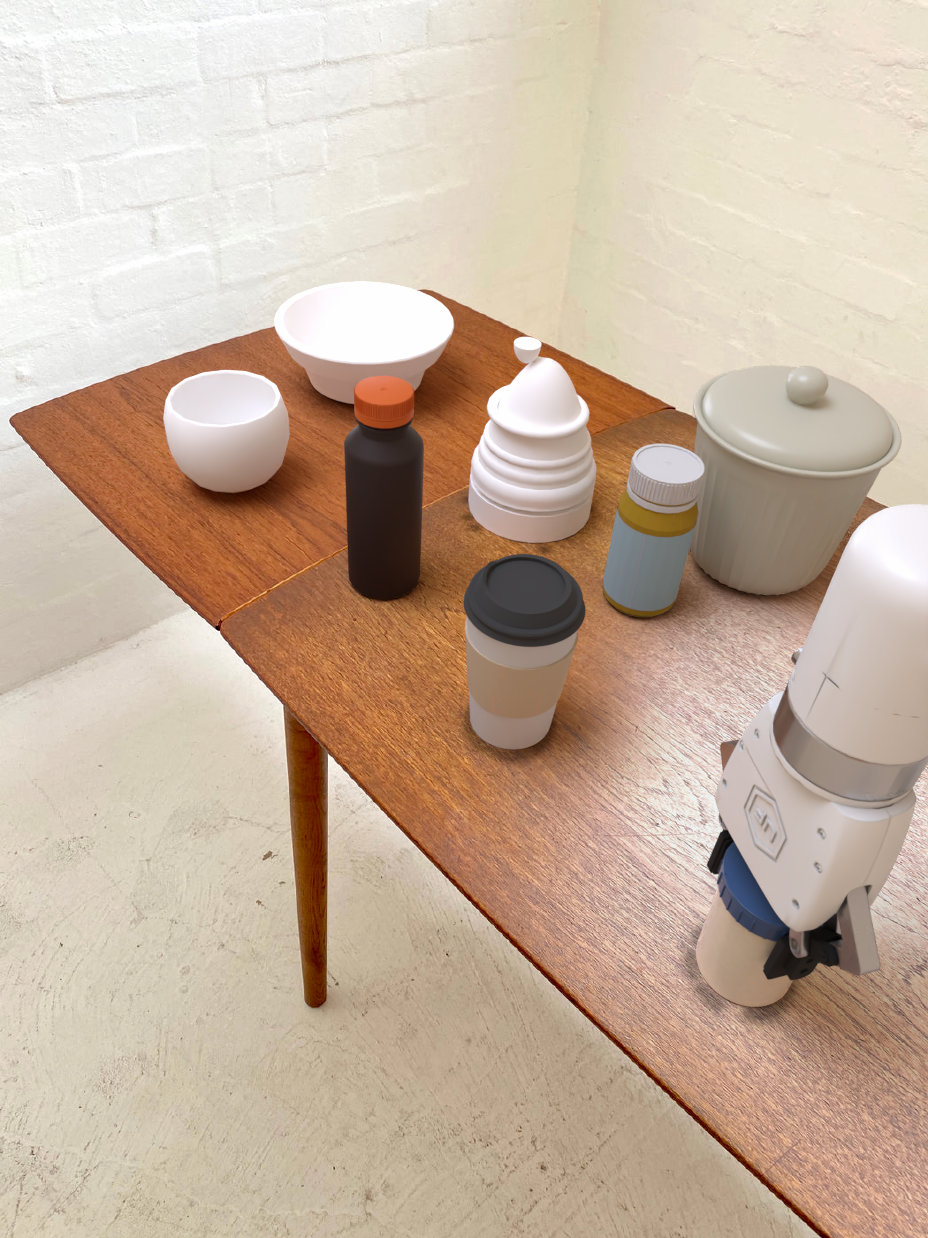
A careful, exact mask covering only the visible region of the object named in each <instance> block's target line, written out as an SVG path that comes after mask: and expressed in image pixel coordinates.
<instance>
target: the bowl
mask: <svg viewBox="0 0 928 1238" xmlns="http://www.w3.org/2000/svg"><path fill="white" fill-rule="evenodd" d="M273 325H274V329H275V332H276V334H277V336H278V337H279V339H280V340H281V343H282V344H283V346H284V347H285V349H286V351H287V352H288V355H289V356H290V357H291V359H292V360H293V361H294V362H295V363H296V364H297V365H299V366H300V367H301V368H304V369H305V372H306V374H307V377H308V379H309V382H310V384H311V386H313V388H314V389H315V390H316V391H317V392H319V393H320V394H321V395H323V396H325V397H327V398H329V399H332V400H334V401H337V402H341V403H345V404H351V405H354V387H355V386H356V385H357V384H358V382H360V381H361V380H364V379H366V378H369V377H374V376H392V377H397V378H400V379H403V380H405V381H406V382H408V383H409V384H410V385H411V386H412V387H413V389H414V392H415V391H416V390H417V389H418V388H419V386H420V385H421V383H422V379H423V377H424V375H425V373H426V370H428V368H430V367H432V366H433V365H434V364H435V363H436V362H437V361H438V360H439V358H440V357H441V355H442V354H443V352H444V350H445V348H446V346H447V345H448V342H449V341H450V339H451V338H452V335H453V333H454V329H455V321H454V317H453V315H452V313H451V311H450V310H449V308H448V307H447V306H445V304H443V303H442V302H441V301H439V300H438V299H437V298H434V297H433V296H431V295H429V294H427V293H424V292H422V291H421V290H418V289H414V288H410V287H408V286H402V285H399V284H392V283H387V282H378V281H346V282H343V281H342V282H336V283H329V284H324V285H320V286H316V287H312V288H309V289H307V290H304V291H302V292H299V293H297V294H295V295H293V296H292V297H290V298H288V299H287V300H286V301H284V302H283V303H282V304H281V305H280V307H279V308H278V309H277V310H276V313H275V315H274V320H273Z"/></svg>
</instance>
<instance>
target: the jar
mask: <svg viewBox="0 0 928 1238" xmlns="http://www.w3.org/2000/svg"><path fill="white" fill-rule="evenodd" d="M719 895H720V893H719V889H718V886H717V888H716V890H715V893H714V896H713V898H712V901H711V903H710V906H709V909H708V912H707V914H706V917H705V920H704V922H703V925H702V927H701V931H700V934H699V936H698V939H697V942H696V945H695V946H696V947H695V959H696V964H697V967H698V969H699V972H700V974H701V976H702V977H703V979H704V980H705V982H706V983H707V985H709V987H710V988H711V989H712V990H713V991H714V992H716V993H717V994H718V995H720V996H721V997H722V998H724V999H725V1000H727V1001H729V1002H731V1003H734V1004H737V1005H739V1006H744V1007H749V1008H759V1007H760V1008H761V1007H765V1006H769V1005H772V1004H775V1003H777V1002H778V1001H779V1000H781V999H782V998H783V997H785V995H786V994H787V993H788V991H789V989H790V987H791V985H792V984H793V982H794V980H790V979H789V977H788V976H787V975H786V976H782V977H778V978H774V979H770V980H768V979H767V978H766V976H765V974H764V972H763V969H764V967H763V966H764V964H765V963H766V961H767V959H768V957H769V955H770V954H771V952H772V950H773V948H774V946H775V945H776V943H777V942H775V941H771V940H768V939H764V938H762V937H760V936H758V935H756V934H754V933H752V932H749V931H748V930H747V929H746V928H744V927H743V926H742V925H741V924H739V923H738V922H736V920H735V919H734V918H733V917H732V915H731V914H730V913H729V912H728V910H726V907H725V905H724V903H723V901H722V899H721V897H719Z"/></svg>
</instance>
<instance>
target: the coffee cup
mask: <svg viewBox="0 0 928 1238" xmlns="http://www.w3.org/2000/svg"><path fill="white" fill-rule="evenodd" d="M583 596H584V595H583V592H582V588H581V586H580V585H579V583H578V582H577V580H576V579H575V578H574V576H573V575H571V573H570V572H568V571H567V570H566V569H564V567H563V566H562V565H560V564H559V563H557V562H556V561H554V560H553V559H550V558H547V557H544V556H542V555H537V554H532V553H531V554H530V553H516V554H510V555H506V556H503V557H500V558H498V559H495V560H491V561H489V562H488V563H487V564H486V565H485V566H483V567H482V568H481V569H479V570H478V571H477V572H475V574H474V575H473V577H471V580H470V581H469V584H468V586H467V588H466V590H465V592H464V595H463V601H462V602H463V610H464V613H465V614H466V619H465V623H464V636H465V637H464V638H465V655H466V657H465V658H466V679H467V687H468V697H469V698H468V700H469V701H468V703H469V705H468V707H469V721H470V725H471V727H472V729H473V731H474V733H476V735H477V736H478V737H479V738H480V739H481V740H483V741H484V742H485V743H487V744H489V745H491V746H494V747H496V748H499V749H503V750H523V749H526V748H530V747H532V746H535V745H536V744H538V743H539V742H540V741H543V739H544V738H546V736H547V734H548V733H549V730H550V728H551V725H552V721H553V718H554V715H555V711H556V707H557V704H558V701H559V700H560V698H561V696H562V692H563V689H564V686H565V683H566V681H567V680H566V679H567V676H568V673H569V671H570V667H571V663H572V659H573V657H574V654H575V650H576V648H577V647H576V646H577V643H578V641H579V640H578V639H579V629H580V628H581V626H582V625H583V623H584V621H585V619H586V611H587V610H586V604H585V603H586V602H585V600H584V597H583Z"/></svg>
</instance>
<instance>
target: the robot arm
mask: <svg viewBox="0 0 928 1238" xmlns="http://www.w3.org/2000/svg"><path fill="white" fill-rule="evenodd" d="M790 659H791V662H792V664H793V666H794V667H793V669H792V672H791V674H790V677H789V679H788V682H787V684H786V686H785V689H784V690H780V691H779V692H777V693H775V694H774V695H773V696H772V697H770V698H769V700H768V701H766V703H765V704H764V705H763V707H762V708H761V709H760V710H759V711H758V712H757V714H756V715H755V716H754V717H753V719H751V721H750V723H749V724H748V725H747V726H746V729H744V731H743V733H742V735H741V736H740V738H738V739H734V740H727V741H723V742H722V741H721V743H720V745H719V750H720V760H721V767H722V774H721V776H720V778H719V780H718V784H717V786H716V790H715V798H714V799H715V804H716V808H717V811H718V823H719V825H720V826H721V829H722V830H721V831H720V832H719V834H718V837H717V839H716V842H715V843H714V844H715V845H714V847H713V848H712V851H711V853H710V856H709V857H708V860H707V863H706V867H707V869H708V871H709V872H710V874H713V875H718V874H719V872H718V869H719V866H720V863H721V861H722V860H723V858H724V855H725V852H726V850H727V849H728V848H729V846H730V845H731V844H732V843H733V842H735V844H736V846H737V847H738V849H739V851H740V853H741V855H742V856H743V858H744V860H745V862H746V863H747V865H748V867H749V869H750V870H751V872H752V874H753V876H754V877H755V879H756V881H757V883H758V884H759V886H760V888H761V890H762V891H763V893H764V895H765V896H766V898H767V900H768V901H769V903H770V905H771V906H772V908H773V910H774V911H775V913H776V914H777V915H778V917H779V918H780V919H781V920H782V921H783V922H784V923H785V924H786V925H787V926H788V927H789V928H790V931H789V935H785V936H782V937H780V938H779V939H778V941H777V943H776V945H775V946H774V948H773V950H772V952H771V954H770V955H769V957H768V959H767V961H766V963H765V964H764V966H763V967H764V969H763V972H764V974H765V976H766V978H767V979H768V980H770V979H774V978H778V977H782V976H786V975H787V976H788V977H789V979H790V980H793V981H797V980H801V979H804V978H806V977H809V976H810V975H811V974H812V973H813V972H814V971H815V970H816V968H817V966H818V965H819V964H822V965H824V966H826V967H828V968H832V967H838V968H839V970H841V971H843V972H847V973H849V974H851V975H854V976H857V977H858V976H863V975H867V974H870V973H874V972H878V971H880V969H881V960H880V955H879V949H878V945H877V944H878V943H877V939H876V934H875V933H876V932H875V928H874V923H873V918H872V912H871V908H870V907H871V906H872V905H873V904H874V902H875V900H876V899H877V898H878V896H879V894H880V893H881V891H882V889H883V887H884V886H885V884H886V883H887V880H888V878H889V877H890V874H891V872H892V870H893V869H894V866H895V864H896V862H897V860H898V857H899V855H900V853H901V851H902V848H903V846H904V843H905V840H906V837H907V836H908V832H909V829H910V825H911V822H912V819H913V817H914V812H915V807H916V803H917V795H916V793H915V790H914V787H915V786H916V784H917V782H918V780H919V778H920V777H921V775H922V773H923V772H924V770H925V769H926V767H927V766H928V504H924V503H908V504H898V505H894V506H890V507H885V508H882V509H881V510H878V511H877V512H875V513H872V514H871V515H869V516H868V517H867V518H866V519H865V520H863V521H862V522H861V523H860V524H859V525H858V526H857V527H856V528H855V530H854V531H853V533H852V534H851V536H850V538H849V540H848V541H847V544H846V546H845V547H844V549H843V552H842V554H841V556H840V559H839V562H838V563H837V566H836V568H835V571H834V573H833V576H832V578H831V580H830V582H829V586H828V587H827V590H826V592H825V594H824V597H823V600H822V602H821V604H820V606H819V609H818V611H817V614H816V616H815V618H814V621H813V623H812V625H811V627H810V630H809V632H808V635H807V637H806V639H805V642H804V643H803V646H800V647H799V648H797V649H796V650H795V651H794V652H793V653H792V654H791V657H790ZM822 924H823V927H822V926H820V925H822Z"/></svg>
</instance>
